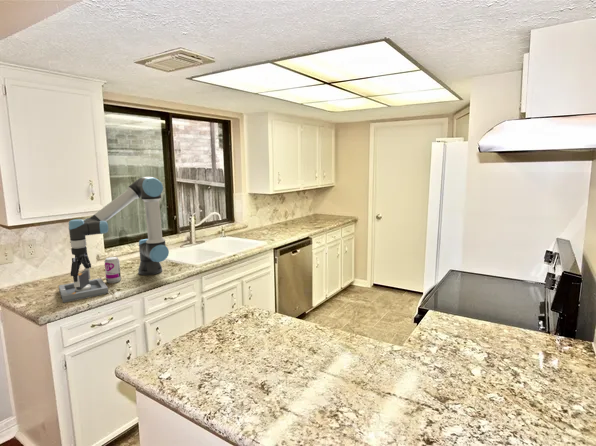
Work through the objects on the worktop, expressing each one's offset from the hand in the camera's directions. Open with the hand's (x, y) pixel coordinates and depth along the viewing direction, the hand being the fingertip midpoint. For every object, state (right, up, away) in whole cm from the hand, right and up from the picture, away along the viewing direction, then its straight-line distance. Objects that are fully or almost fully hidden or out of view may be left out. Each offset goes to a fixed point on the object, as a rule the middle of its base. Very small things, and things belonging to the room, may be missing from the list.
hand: (82, 282), depth 210 cm
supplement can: (+8, -2, +20) cm, 22 cm away
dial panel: (0, -6, +1) cm, 6 cm away
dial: (0, -4, +1) cm, 4 cm away
